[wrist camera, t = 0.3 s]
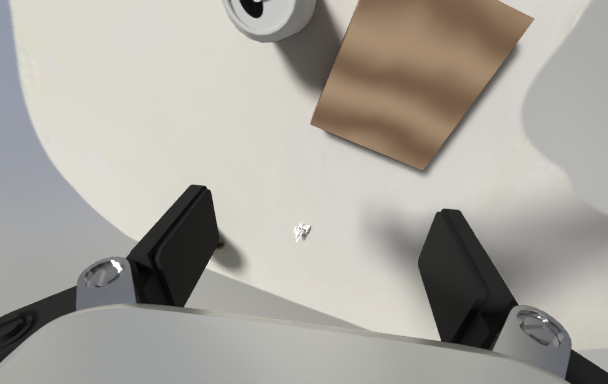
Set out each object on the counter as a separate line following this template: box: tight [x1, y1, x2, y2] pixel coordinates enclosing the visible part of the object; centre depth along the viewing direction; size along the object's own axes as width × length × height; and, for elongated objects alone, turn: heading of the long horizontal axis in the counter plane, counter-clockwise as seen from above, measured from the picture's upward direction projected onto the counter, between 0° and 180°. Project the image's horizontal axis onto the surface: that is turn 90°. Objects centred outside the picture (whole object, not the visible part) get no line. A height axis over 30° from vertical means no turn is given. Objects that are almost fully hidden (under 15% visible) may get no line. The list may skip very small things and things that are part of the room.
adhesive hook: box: [294, 221, 310, 242], centre depth 49 cm, size 3×3×3 cm
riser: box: [310, 0, 534, 170], centre depth 32 cm, size 18×16×5 cm
